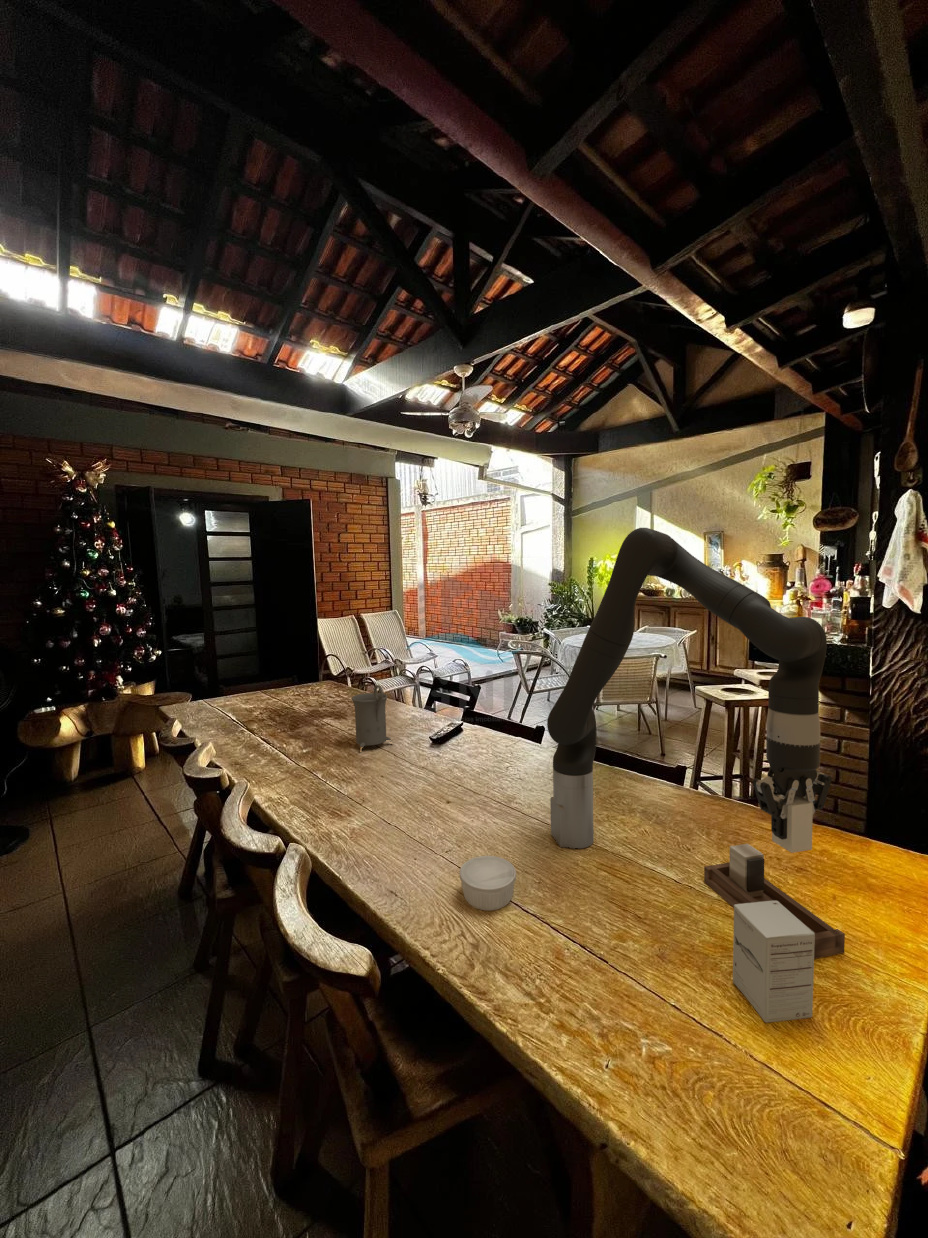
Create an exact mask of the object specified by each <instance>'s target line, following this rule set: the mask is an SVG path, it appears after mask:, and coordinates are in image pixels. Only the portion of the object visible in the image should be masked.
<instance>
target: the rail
mask: <svg viewBox="0 0 928 1238" xmlns="http://www.w3.org/2000/svg"><path fill="white" fill-rule="evenodd" d="M703 868H704V871H703V872H704V874H703V875H704V876H703V879H704V880H703V882H704V883H705V884H706V885H708V887H709V888H711V889H712V890H713V891H714V892H716V894H717V895H719V896H720V897H721V898H722V899H724V901H726V902H727V903H728V904H730V906H731V907H733V908H734V905H735V904H743V903H753V902H763V901H778V902H780V903H781V904H782V905H783V906H784V907H785V908H786V909H787V910H789V911H790V912H791V913H792V914H793V915H794V916H796V918H798V919H799V920H800V921H801V922H802V923H803V924H804V925H806V926H807V927H808V928H809V929H810V930H811V931H813V932H814V934H815V945H814V960H815V959H820V958H825V957H829V956H834V955H838V954H844V953H845V944H846V943H845V942H846V941H845V938H846V937H845V935H846V934H845V933H844V932H843V931H841V929H839V928H836V929H835V928H834V927H832V926H831V925H829V924H828V923H827V922H825V921H824V920H823V919H821V918H820V917H819V916H817V915H816V914H815V913H813V912H812V911H810V910H809V909H807V908H806V907H805V906H803V905H802V904H800V902H798V901H796V899H794V898H793V897H791V896H789V895H788V894H787V893H786V892H784V891H782V890H781V888H779V887H777V886H776V885H774V884H773V883H772V882H771V881H769V880H768V879H767V878H765V855H764V853H762V852H761V851H760V850H758V849H756V848H755V847H753V846H752V845H750V844H749V843H743V844H737V845H730V846H729V862H723V863H718V864H712V865H711V864H710V865H705V866H704V867H703Z"/></svg>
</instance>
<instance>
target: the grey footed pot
mask: <svg viewBox="0 0 928 1238" xmlns="http://www.w3.org/2000/svg"><path fill="white" fill-rule="evenodd" d="M377 689H378V690H379V692H377ZM388 697H389V696H388V695H387V694H385V693H384V690H383V688H382V687H381V685H380V684H376V685H375V686H374V688H373V692H367V693H360V694H355V695H353V696H351V701H352V703H353V705H354V721H355V724H354V725H355V742H356V744H358V745H359V747H364V746H365V747H366V746H376V745H381V744H383V743H385V742H386V740H391V741H392V739H391V738H390V737H389V736H387V718H386V704H387V703H386V702H387V699H388ZM365 747H364V748H365Z"/></svg>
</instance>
